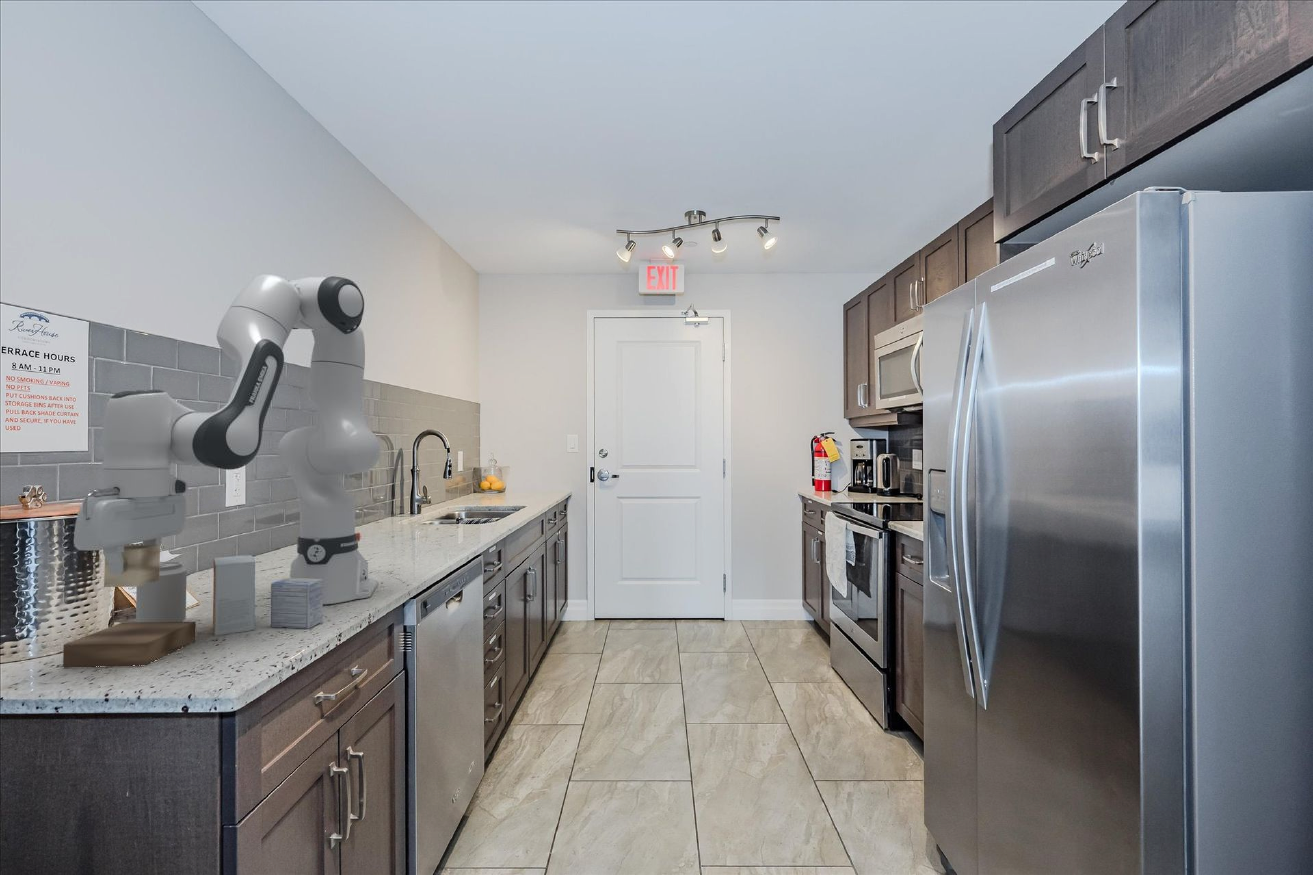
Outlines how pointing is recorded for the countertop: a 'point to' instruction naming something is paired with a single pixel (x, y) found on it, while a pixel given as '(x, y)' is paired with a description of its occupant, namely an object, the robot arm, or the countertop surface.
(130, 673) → the countertop surface
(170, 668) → the countertop surface
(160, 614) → the can
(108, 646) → the walnut block
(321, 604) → the medicine box
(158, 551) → the maple block
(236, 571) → the small box
